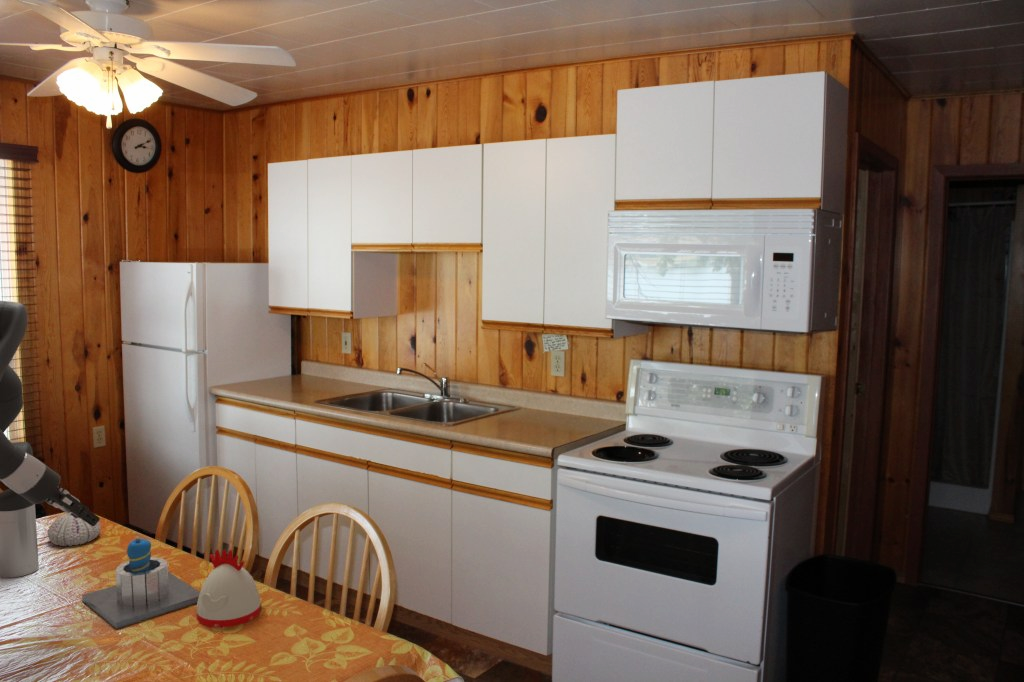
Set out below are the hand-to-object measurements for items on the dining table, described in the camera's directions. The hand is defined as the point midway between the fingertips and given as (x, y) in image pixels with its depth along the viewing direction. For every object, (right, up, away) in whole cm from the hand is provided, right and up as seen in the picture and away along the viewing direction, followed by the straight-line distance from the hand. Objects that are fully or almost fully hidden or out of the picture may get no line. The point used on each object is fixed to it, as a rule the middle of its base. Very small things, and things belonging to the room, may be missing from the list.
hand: (88, 518), depth 182 cm
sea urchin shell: (-29, -17, +48) cm, 59 cm away
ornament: (+8, -20, +10) cm, 24 cm away
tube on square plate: (+8, -22, +10) cm, 25 cm away
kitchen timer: (+30, -23, +5) cm, 38 cm away
